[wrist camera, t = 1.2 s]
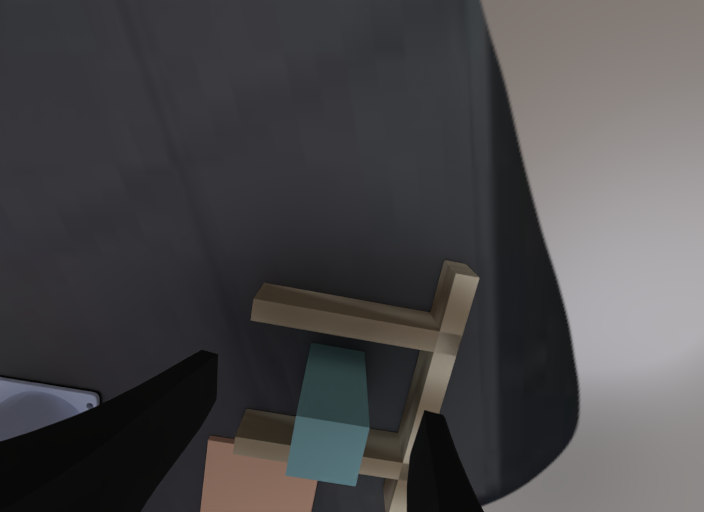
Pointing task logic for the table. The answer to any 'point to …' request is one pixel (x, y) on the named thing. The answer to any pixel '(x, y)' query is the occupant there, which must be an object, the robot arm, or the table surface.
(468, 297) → the birch rack
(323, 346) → the teal block
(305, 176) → the table surface
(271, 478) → the terracotta tile
